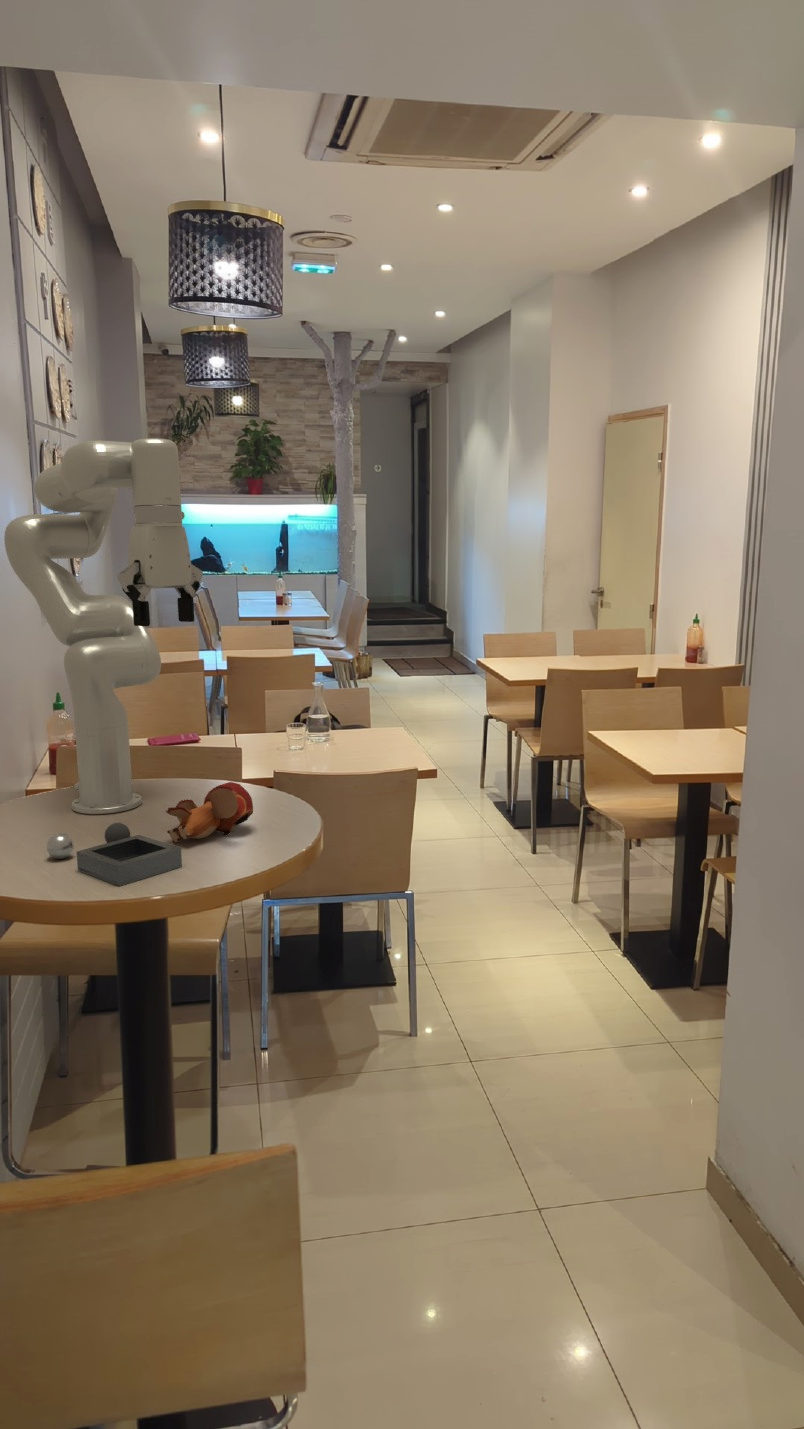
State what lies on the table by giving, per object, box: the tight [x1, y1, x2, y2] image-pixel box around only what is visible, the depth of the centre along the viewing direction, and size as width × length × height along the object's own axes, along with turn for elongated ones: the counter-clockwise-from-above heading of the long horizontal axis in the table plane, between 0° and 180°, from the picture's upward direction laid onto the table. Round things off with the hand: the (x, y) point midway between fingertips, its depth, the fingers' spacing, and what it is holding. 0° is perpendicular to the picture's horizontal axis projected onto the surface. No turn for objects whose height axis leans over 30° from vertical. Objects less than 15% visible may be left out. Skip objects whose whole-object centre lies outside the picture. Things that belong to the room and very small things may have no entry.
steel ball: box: [46, 832, 74, 860], centre depth 153 cm, size 4×4×4 cm
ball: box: [104, 822, 131, 843], centre depth 158 cm, size 4×4×4 cm
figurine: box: [165, 781, 254, 844], centre depth 163 cm, size 20×9×15 cm
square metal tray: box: [76, 834, 183, 887], centre depth 147 cm, size 11×11×3 cm
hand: (164, 623), depth 161 cm, fingers open, 9 cm apart
